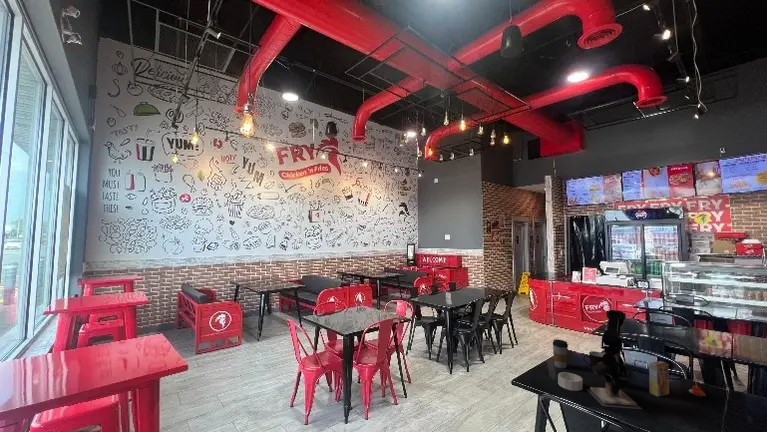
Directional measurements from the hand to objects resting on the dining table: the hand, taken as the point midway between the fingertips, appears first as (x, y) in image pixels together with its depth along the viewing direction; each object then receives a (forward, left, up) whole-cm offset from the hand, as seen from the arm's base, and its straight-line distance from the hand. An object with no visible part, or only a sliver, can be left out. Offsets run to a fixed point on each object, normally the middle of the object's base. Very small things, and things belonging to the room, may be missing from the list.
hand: (612, 392), depth 162 cm
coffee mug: (-8, -35, -3) cm, 36 cm away
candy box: (-27, -10, -3) cm, 29 cm away
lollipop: (-45, -11, -4) cm, 46 cm away
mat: (0, 0, -3) cm, 3 cm away
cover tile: (0, 0, -2) cm, 2 cm away
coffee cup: (+10, -38, -3) cm, 39 cm away
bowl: (+15, -11, -3) cm, 19 cm away
